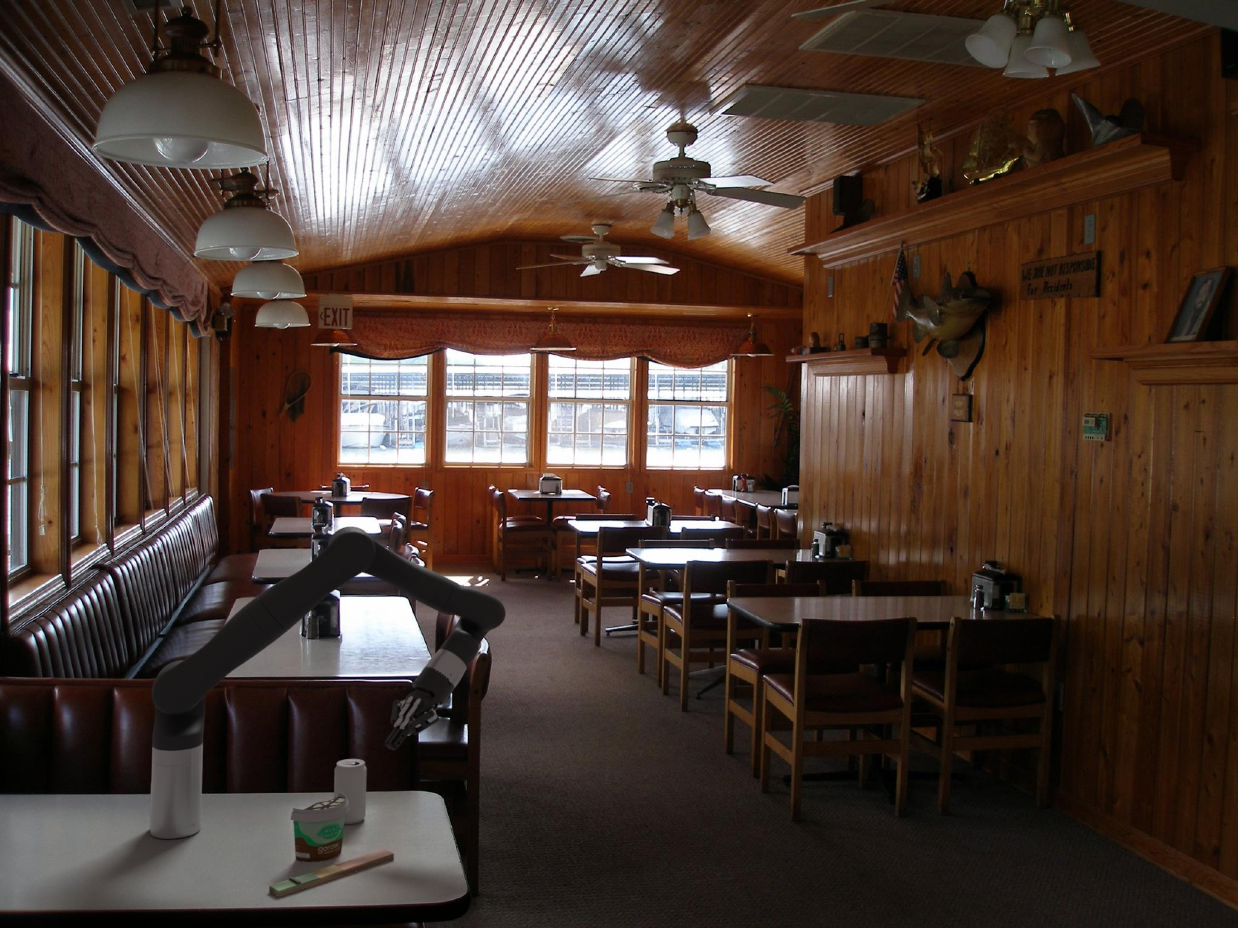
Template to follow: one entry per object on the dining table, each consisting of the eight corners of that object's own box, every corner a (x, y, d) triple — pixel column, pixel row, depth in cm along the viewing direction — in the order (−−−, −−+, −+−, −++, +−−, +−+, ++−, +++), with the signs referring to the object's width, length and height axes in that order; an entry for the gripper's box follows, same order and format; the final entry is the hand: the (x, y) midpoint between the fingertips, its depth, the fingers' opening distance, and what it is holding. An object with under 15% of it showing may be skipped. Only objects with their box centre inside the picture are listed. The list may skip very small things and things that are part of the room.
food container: (312, 870, 194) (313, 815, 194) (289, 862, 197) (290, 808, 197) (362, 849, 204) (363, 797, 204) (339, 842, 208) (340, 791, 207)
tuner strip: (269, 891, 184) (269, 883, 184) (384, 854, 202) (384, 846, 202) (278, 896, 182) (278, 888, 182) (393, 859, 200) (393, 851, 200)
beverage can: (356, 826, 216) (358, 768, 216) (327, 823, 217) (329, 765, 217) (370, 816, 222) (372, 759, 222) (341, 813, 224) (343, 756, 223)
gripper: (410, 660, 222) (358, 729, 213) (451, 670, 213) (399, 743, 204) (429, 682, 226) (379, 750, 217) (470, 693, 218) (421, 765, 209)
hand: (389, 747), depth 211 cm, fingers closed
